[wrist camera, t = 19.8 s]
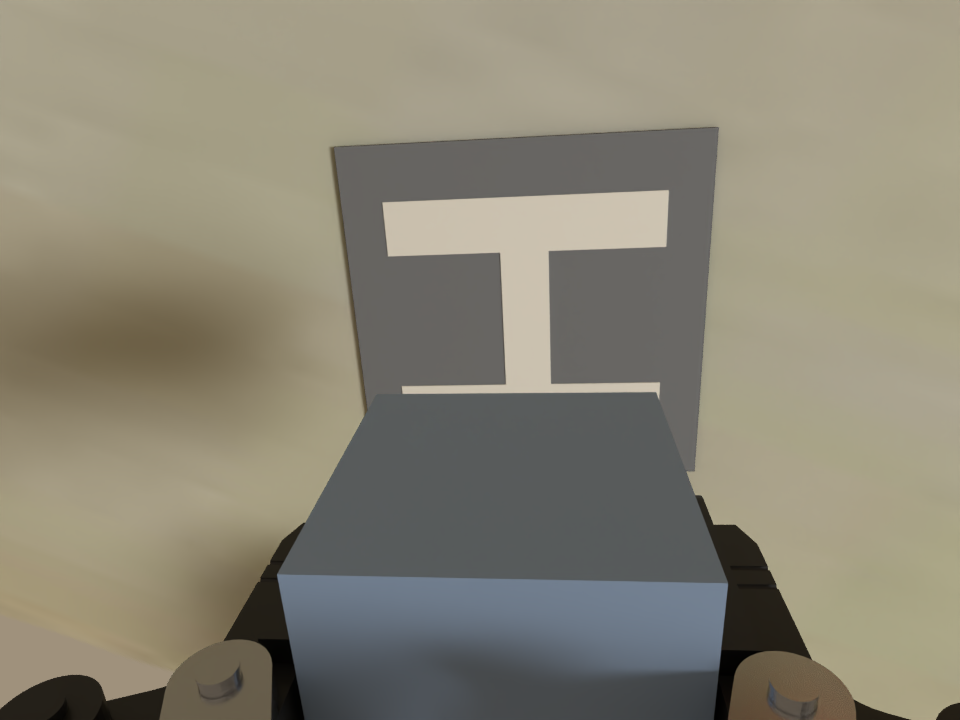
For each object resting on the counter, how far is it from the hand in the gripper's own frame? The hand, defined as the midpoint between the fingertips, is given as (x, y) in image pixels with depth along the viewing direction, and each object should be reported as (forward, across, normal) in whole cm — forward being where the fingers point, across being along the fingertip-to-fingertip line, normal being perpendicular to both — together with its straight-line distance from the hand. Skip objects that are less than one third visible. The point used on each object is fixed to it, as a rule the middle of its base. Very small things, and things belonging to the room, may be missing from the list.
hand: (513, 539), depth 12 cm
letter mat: (+12, 0, 0) cm, 12 cm away
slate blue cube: (+1, 0, 0) cm, 1 cm away
